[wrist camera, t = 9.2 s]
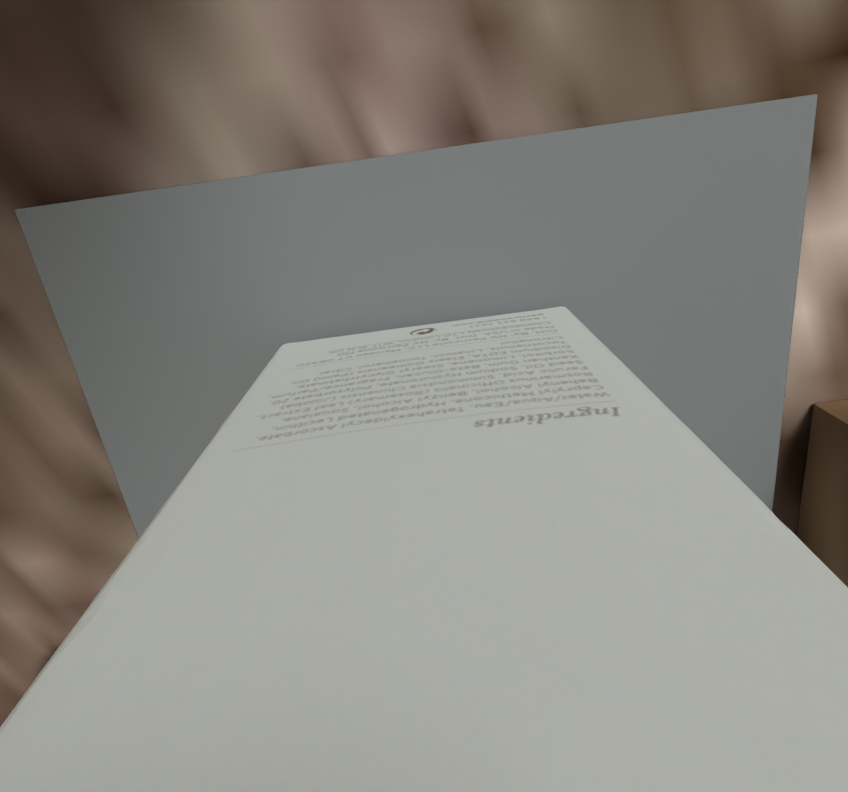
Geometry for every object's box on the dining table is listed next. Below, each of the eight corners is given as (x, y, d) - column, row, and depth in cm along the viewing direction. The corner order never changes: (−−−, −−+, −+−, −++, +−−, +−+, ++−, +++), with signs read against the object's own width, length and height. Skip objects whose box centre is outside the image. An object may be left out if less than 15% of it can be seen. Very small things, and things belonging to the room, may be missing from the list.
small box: (279, 337, 11) (-827, 1637, 1) (570, 298, 11) (2021, 1584, 1) (354, 650, 14) (192, 1771, 4) (583, 626, 14) (982, 1764, 4)
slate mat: (35, 207, 11) (14, 209, 10) (795, 98, 10) (818, 93, 9) (226, 731, 16) (219, 751, 15) (739, 683, 15) (751, 703, 15)
